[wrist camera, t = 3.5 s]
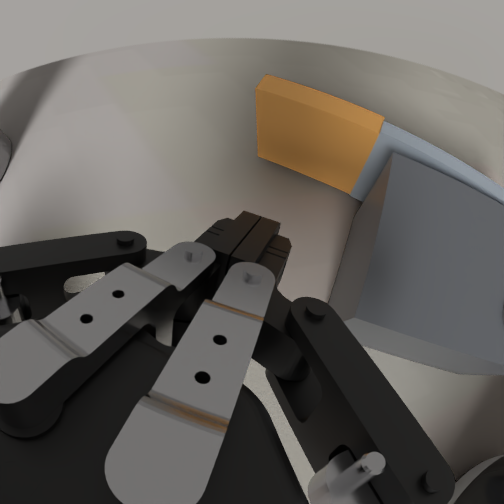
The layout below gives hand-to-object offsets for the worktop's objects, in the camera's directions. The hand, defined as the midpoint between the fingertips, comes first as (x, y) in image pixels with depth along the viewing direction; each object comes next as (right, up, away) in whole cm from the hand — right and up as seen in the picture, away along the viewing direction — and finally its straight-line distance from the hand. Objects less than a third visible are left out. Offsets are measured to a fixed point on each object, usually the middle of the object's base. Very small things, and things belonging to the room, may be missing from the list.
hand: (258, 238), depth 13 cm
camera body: (+12, -4, +6) cm, 14 cm away
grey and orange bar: (+9, +3, +8) cm, 13 cm away
